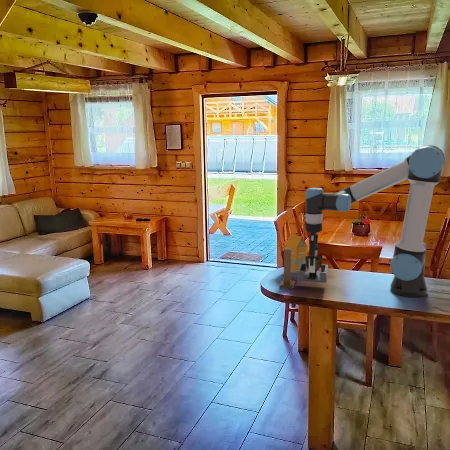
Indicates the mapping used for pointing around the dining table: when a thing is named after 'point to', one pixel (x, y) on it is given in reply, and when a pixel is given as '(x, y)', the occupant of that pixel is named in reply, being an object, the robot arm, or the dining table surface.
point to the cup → (317, 263)
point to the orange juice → (296, 250)
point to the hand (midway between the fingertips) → (313, 267)
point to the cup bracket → (300, 272)
